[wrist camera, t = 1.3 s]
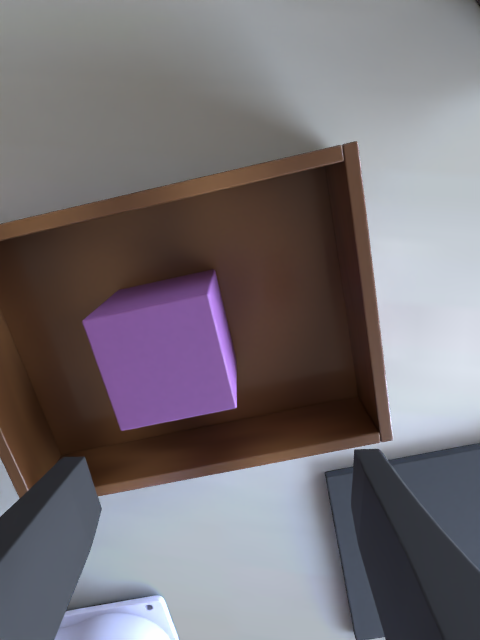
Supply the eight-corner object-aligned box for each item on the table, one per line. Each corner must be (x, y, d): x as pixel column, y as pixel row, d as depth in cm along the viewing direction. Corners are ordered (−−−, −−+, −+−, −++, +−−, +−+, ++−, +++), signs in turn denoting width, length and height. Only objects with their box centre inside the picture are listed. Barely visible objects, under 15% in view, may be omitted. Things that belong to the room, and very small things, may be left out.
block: (145, 378, 22) (120, 432, 17) (117, 290, 20) (80, 321, 15) (236, 360, 21) (237, 408, 17) (214, 268, 20) (208, 293, 15)
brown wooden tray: (59, 458, 24) (24, 510, 20) (-35, 236, 20) (-100, 246, 16) (367, 397, 23) (394, 440, 19) (333, 150, 19) (358, 140, 15)
